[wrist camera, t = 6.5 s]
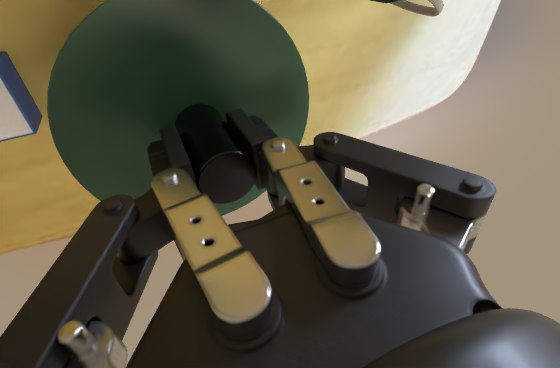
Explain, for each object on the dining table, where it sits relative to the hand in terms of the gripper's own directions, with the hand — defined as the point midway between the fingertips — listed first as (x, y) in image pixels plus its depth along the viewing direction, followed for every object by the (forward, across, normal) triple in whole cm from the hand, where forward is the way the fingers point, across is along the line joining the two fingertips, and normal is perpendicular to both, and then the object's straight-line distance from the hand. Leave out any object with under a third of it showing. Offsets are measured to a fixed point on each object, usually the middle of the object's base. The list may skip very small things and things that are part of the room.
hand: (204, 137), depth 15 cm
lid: (+2, 0, 0) cm, 2 cm away
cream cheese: (+23, +14, +2) cm, 27 cm away
